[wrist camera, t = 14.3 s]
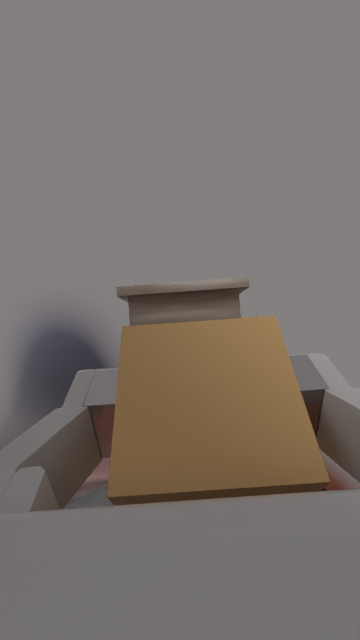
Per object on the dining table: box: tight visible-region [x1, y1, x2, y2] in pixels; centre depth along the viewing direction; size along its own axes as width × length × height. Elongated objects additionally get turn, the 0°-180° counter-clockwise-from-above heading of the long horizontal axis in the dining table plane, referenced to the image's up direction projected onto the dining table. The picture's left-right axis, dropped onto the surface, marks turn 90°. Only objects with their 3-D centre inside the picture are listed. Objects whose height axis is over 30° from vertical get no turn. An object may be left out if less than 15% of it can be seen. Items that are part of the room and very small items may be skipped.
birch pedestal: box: [117, 277, 249, 326], centre depth 41 cm, size 16×14×26 cm
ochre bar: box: [107, 316, 330, 505], centre depth 15 cm, size 22×4×4 cm
